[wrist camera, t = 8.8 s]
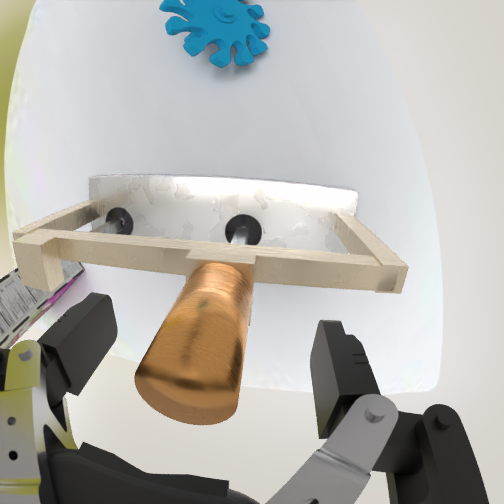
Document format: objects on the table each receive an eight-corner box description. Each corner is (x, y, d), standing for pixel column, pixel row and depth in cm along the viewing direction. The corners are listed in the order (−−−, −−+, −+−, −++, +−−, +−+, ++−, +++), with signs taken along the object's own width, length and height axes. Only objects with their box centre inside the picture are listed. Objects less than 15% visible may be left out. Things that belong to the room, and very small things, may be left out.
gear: (278, 75, 19) (162, 46, 13) (234, 93, 23) (132, 80, 17) (270, -14, 17) (176, -49, 10) (232, 10, 21) (146, -12, 15)
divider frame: (96, 175, 24) (-8, 207, 12) (353, 189, 24) (433, 236, 11) (103, 257, 28) (21, 325, 15) (338, 280, 27) (381, 381, 14)
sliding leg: (226, 204, 23) (124, 345, 6) (262, 207, 23) (240, 364, 6) (224, 241, 24) (145, 415, 7) (259, 244, 24) (236, 432, 7)
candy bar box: (53, 308, 31) (-17, 379, 16) (32, 281, 30) (-43, 343, 15) (88, 270, 28) (-6, 353, 13) (64, 237, 27) (-39, 303, 12)
